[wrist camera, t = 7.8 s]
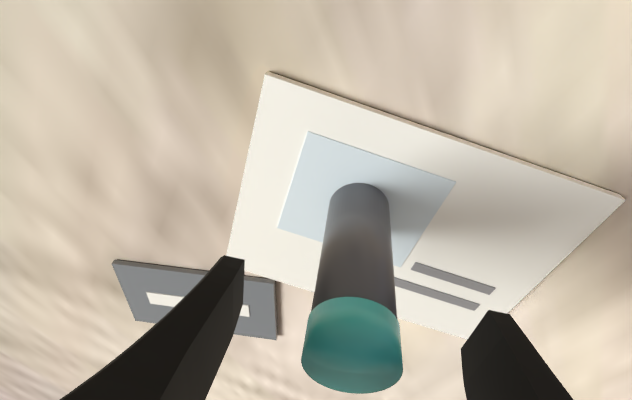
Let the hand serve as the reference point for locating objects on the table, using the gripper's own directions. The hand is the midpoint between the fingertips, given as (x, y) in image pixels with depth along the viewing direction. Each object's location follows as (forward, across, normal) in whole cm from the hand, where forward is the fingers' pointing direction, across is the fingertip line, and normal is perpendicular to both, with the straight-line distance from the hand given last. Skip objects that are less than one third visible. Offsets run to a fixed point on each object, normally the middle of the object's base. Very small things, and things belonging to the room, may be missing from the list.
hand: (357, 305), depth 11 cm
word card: (+6, +8, +9) cm, 13 cm away
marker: (+5, 0, 0) cm, 5 cm away
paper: (+6, -2, +1) cm, 6 cm away
